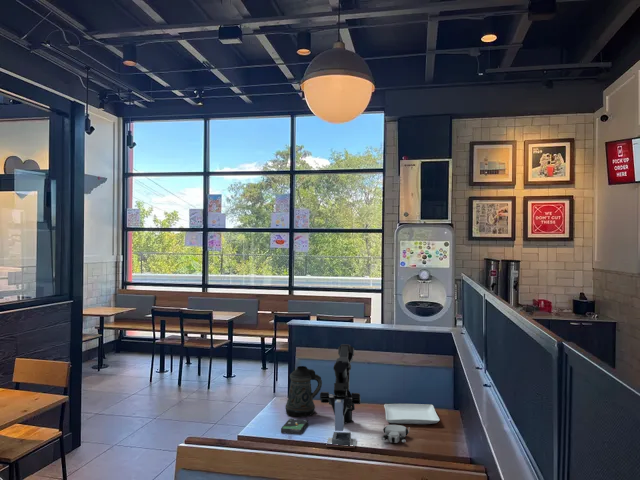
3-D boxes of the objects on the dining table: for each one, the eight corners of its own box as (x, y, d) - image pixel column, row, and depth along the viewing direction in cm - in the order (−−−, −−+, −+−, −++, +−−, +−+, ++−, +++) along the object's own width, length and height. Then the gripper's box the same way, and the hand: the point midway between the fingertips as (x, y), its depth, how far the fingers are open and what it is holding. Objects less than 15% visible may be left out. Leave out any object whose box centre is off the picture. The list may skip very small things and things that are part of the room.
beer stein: (280, 410, 263) (280, 365, 264) (311, 405, 272) (311, 362, 273) (293, 419, 249) (292, 371, 250) (325, 413, 258) (324, 367, 259)
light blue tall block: (336, 426, 217) (336, 397, 218) (344, 426, 217) (343, 397, 217) (334, 430, 212) (334, 400, 212) (342, 431, 211) (342, 401, 212)
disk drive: (289, 423, 243) (280, 433, 229) (289, 418, 243) (280, 427, 229) (308, 425, 241) (301, 435, 226) (308, 419, 241) (301, 429, 227)
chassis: (328, 439, 219) (328, 431, 220) (356, 440, 218) (356, 432, 218) (326, 447, 210) (326, 439, 210) (355, 448, 208) (355, 440, 208)
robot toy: (406, 448, 211) (409, 434, 225) (406, 438, 210) (409, 424, 225) (379, 445, 214) (384, 431, 228) (379, 435, 214) (384, 422, 228)
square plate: (432, 410, 262) (432, 403, 262) (440, 427, 235) (440, 419, 235) (384, 409, 265) (383, 402, 265) (386, 426, 238) (385, 418, 238)
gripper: (320, 374, 220) (316, 405, 209) (359, 375, 218) (358, 407, 206) (322, 387, 228) (319, 417, 216) (361, 388, 225) (359, 419, 214)
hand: (339, 415), depth 213 cm, fingers closed on light blue tall block, 4 cm apart
